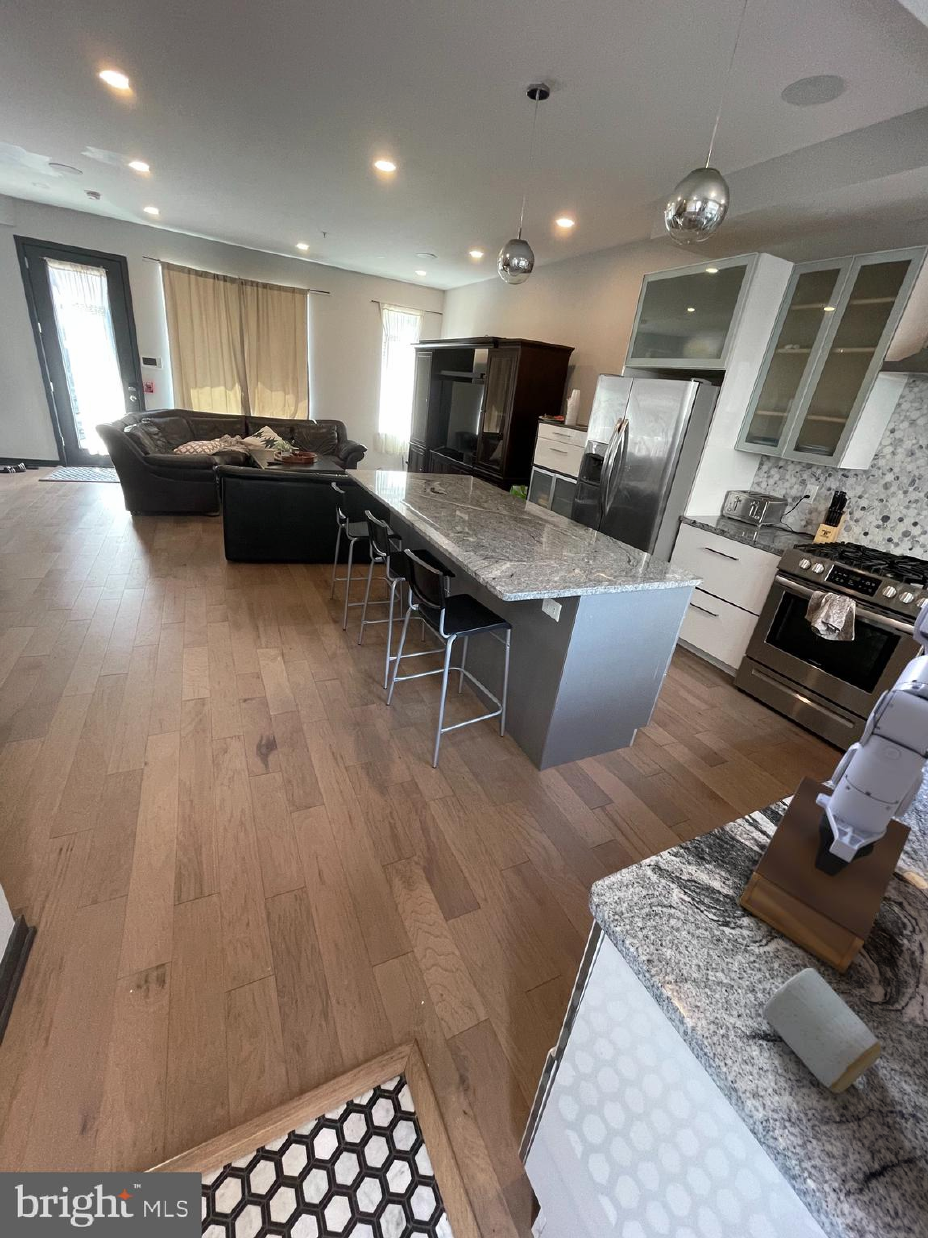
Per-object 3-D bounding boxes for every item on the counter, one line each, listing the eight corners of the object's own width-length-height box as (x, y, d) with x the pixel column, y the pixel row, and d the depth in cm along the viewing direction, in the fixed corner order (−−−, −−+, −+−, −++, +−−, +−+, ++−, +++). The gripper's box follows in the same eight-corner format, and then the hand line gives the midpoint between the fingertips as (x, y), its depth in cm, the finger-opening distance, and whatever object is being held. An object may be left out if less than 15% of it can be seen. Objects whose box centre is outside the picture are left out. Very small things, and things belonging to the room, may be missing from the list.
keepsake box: (767, 847, 81) (781, 819, 79) (860, 902, 74) (878, 873, 72) (738, 903, 70) (753, 873, 68) (842, 974, 63) (863, 943, 61)
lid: (803, 776, 74) (804, 774, 74) (910, 829, 67) (911, 827, 66) (754, 872, 68) (754, 870, 68) (864, 942, 61) (866, 940, 60)
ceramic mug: (826, 1112, 49) (862, 1067, 46) (751, 1024, 56) (778, 979, 53) (880, 1063, 54) (916, 1020, 51) (805, 988, 61) (833, 945, 58)
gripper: (843, 746, 67) (801, 823, 72) (822, 793, 57) (776, 879, 62) (908, 775, 63) (860, 855, 68) (899, 832, 53) (842, 920, 58)
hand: (824, 869), depth 65 cm, fingers closed
